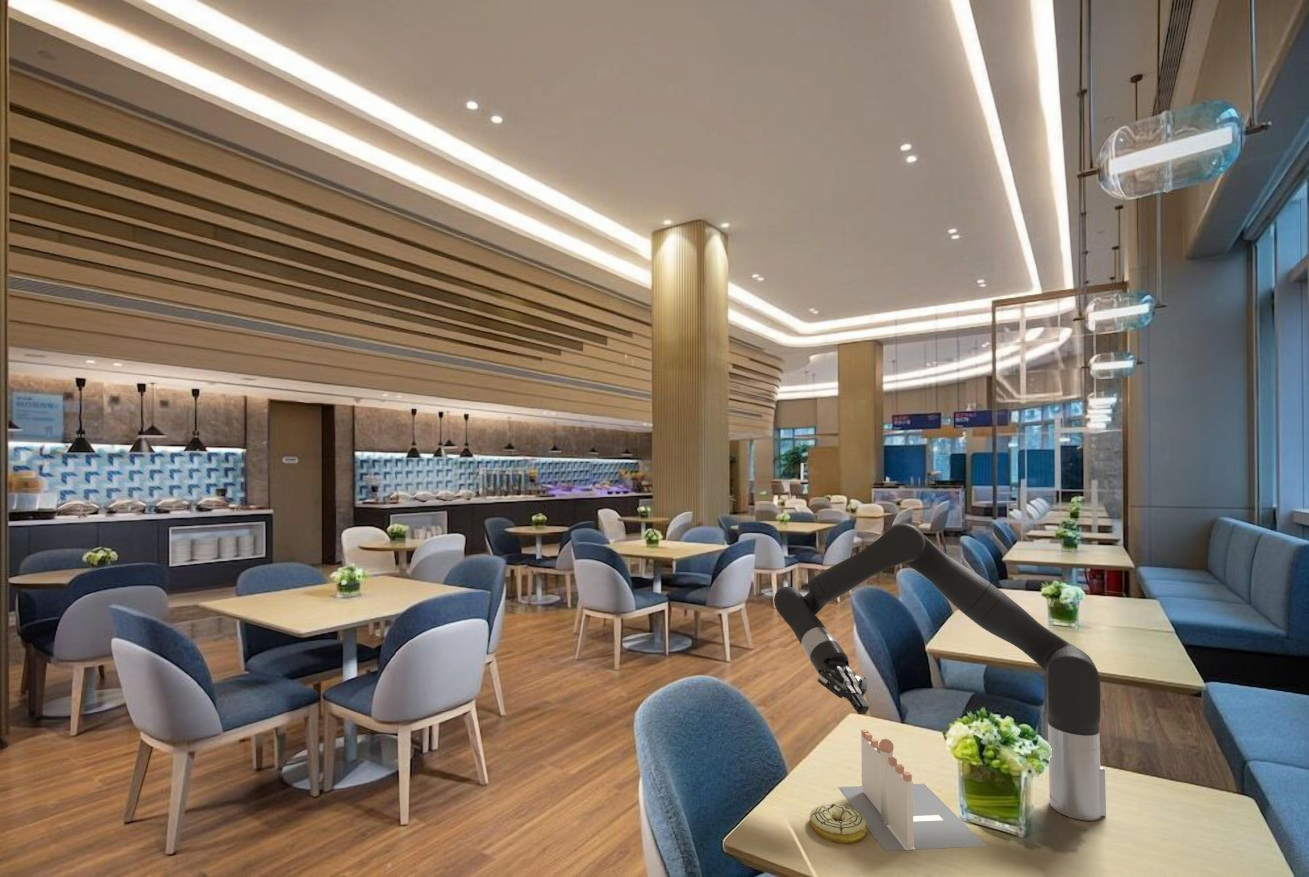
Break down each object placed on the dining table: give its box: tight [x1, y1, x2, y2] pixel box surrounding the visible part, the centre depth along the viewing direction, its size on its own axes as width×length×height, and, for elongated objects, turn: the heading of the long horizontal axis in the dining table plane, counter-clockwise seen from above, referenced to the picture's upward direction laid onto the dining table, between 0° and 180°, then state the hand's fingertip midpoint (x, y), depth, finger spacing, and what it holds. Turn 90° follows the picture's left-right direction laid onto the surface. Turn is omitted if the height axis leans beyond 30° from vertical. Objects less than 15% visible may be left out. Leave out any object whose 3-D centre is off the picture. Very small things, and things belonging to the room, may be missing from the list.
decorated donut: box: [809, 803, 868, 844], centre depth 129 cm, size 10×11×4 cm
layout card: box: [838, 783, 987, 852], centre depth 134 cm, size 20×24×1 cm
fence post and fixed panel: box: [878, 738, 914, 848], centre depth 128 cm, size 3×11×16 cm, turn 5°
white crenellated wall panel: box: [860, 729, 881, 814], centre depth 138 cm, size 10×1×13 cm, turn 5°
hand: (864, 711), depth 134 cm, fingers closed
